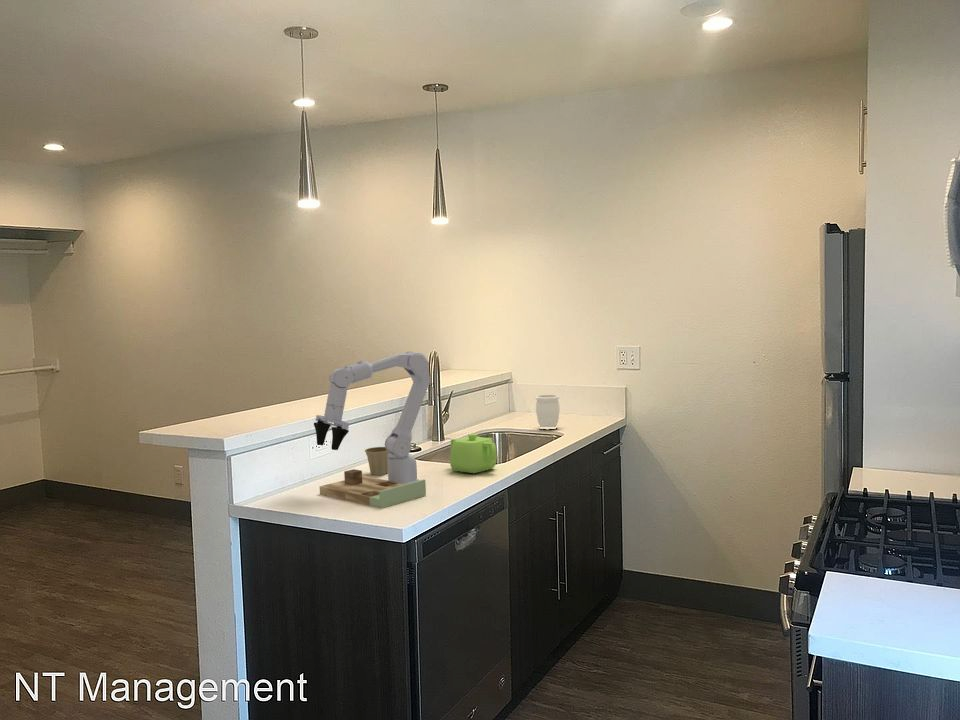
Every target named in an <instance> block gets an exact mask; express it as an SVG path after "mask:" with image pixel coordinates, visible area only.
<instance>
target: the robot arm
mask: <svg viewBox="0 0 960 720" xmlns="http://www.w3.org/2000/svg"><path fill="white" fill-rule="evenodd" d="M429 366H430V363H429V361H428V359H427V357H426V355H424V354H423V353H421V352H414V351H405V352H400V353H396V354H392V355H390V356H387V357H385V358H382V359H379V360H376V361H373V362H368V361H367V360H364V361H363V360H357V363H354V364H351V365H343V368H336V369H333V370H332V371H331V373H330V375H329V376H328V377H329V382H330V386H329V389H328V392H327V394H328V395H327V399H326V404H325V409H324V415H321V414H320V415H319V414H316V415H315V421H314V422H313V426H314V430H315V437H316V445H318V446H324V444H325V442H326V437H327V434H328V432H329V429H330V427H331V431H332V432H331V433H332V435H331V436H332V439H331V450H333V451H338V450H339V448H340V446H341V444H342V441H343V440H344V438H345V437H346V436H347V434H348V433H349V426H350V423H349V422H346V421H344V420H342V419H343V416H344V414H343V413H344V410H345V406H346V405H345V403H346V399H347V394H348V393H347V392H348V387H349V386H350V385H351V384H354V383H358V382H362V381H363V380H364V381H365V380H367V379H370V378H371V377H372V376H373V374H374V373H377V372H380V371H384V370H388V369H391V368H396V367H399V368H403V370H404V371H406V372H407V373H408V374H409V376H410V378H411V381H412V385H411V388H410V390H409V393H408V395H407V398H406V401H405V403H404V406H403V408H402V411H401V413H400V416H399V419H398V422H397V424H396V426H395V427H394V428H393V429H392V430H391V433H390V435H389V436H387V438H386V439H385V441H384V447H385V448H386V450H387V451H388V455H387V463H388V473H387V480H388V481H393V482H399V483H404V484H407V483H411V482H415V481H419V480H420V479H418V472H417V470H418V469H417V467H418V465H417V460H416V458H415V456H414V455H412V454H410V452H411V447H412V446H411V442H412V439H413V436H412V435H413V434H412V430H413V428H414V425H415V423H416V420H417V417H418V415H419V412H420V410H421V406H422V404H423V402H424V399H425V397H426V394H427V391H428V389H429V386H430V384H431V377H430V369H429ZM333 426H334V427H333Z"/></svg>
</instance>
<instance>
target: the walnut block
mask: <svg viewBox="0 0 960 720" xmlns="http://www.w3.org/2000/svg"><path fill="white" fill-rule="evenodd" d="M343 474H344V477H343V478H344V480H345V484H349V485H356V484H360V483H362V476H363V470H359V469H354V468H353V469H348V470H344V472H343Z"/></svg>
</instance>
